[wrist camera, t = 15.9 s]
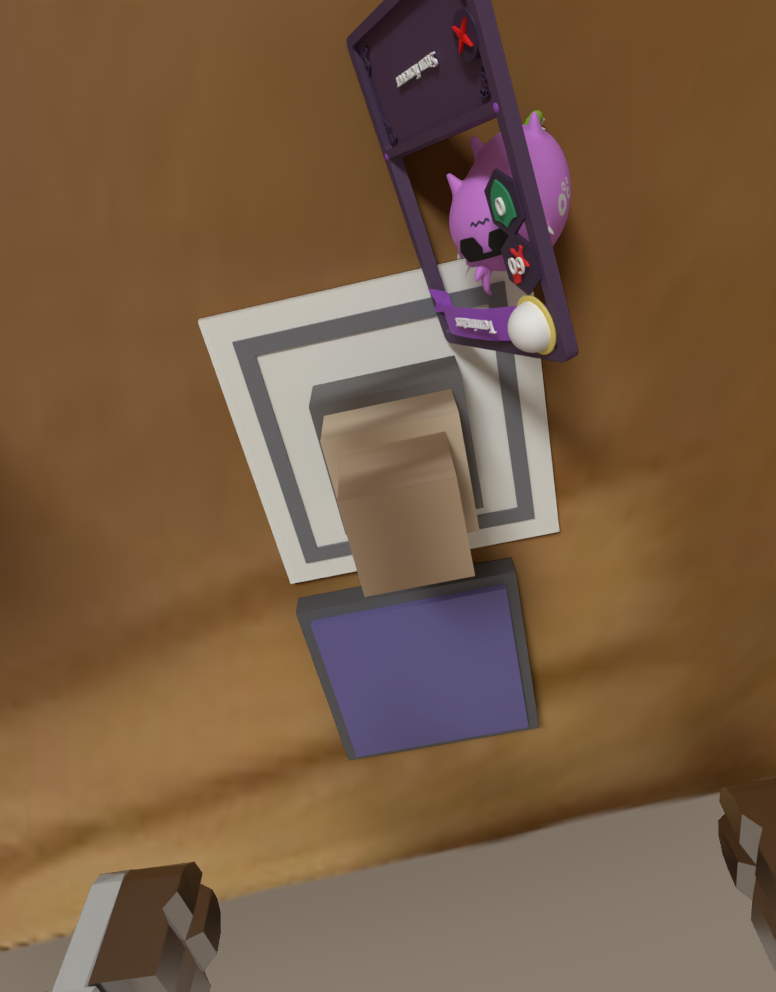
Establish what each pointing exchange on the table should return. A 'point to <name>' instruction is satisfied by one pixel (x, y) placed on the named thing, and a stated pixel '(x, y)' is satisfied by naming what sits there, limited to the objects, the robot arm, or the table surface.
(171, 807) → the table surface
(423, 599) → the ink pad
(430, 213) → the table surface
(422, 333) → the print sheet
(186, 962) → the robot arm
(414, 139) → the purple toy figure
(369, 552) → the stamp
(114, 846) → the table surface
